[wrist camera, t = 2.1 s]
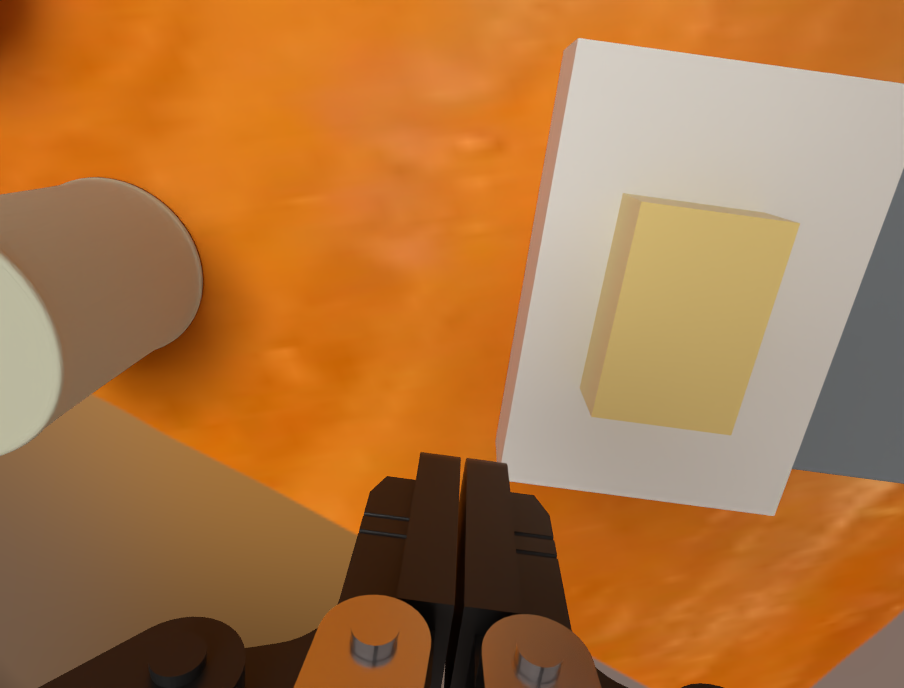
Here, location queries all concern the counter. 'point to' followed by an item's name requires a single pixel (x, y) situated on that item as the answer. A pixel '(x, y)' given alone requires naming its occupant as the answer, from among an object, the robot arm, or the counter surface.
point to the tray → (866, 373)
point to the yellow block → (683, 312)
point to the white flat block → (705, 182)
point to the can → (85, 294)
